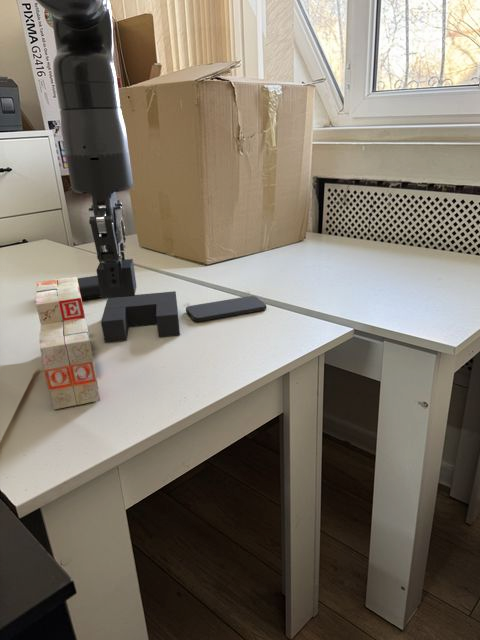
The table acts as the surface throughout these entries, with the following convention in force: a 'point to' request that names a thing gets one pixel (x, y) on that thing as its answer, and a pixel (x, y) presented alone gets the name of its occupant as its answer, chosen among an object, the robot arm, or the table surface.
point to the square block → (128, 281)
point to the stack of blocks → (65, 343)
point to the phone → (225, 308)
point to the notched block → (140, 315)
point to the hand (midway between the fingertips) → (117, 283)
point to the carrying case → (89, 287)
